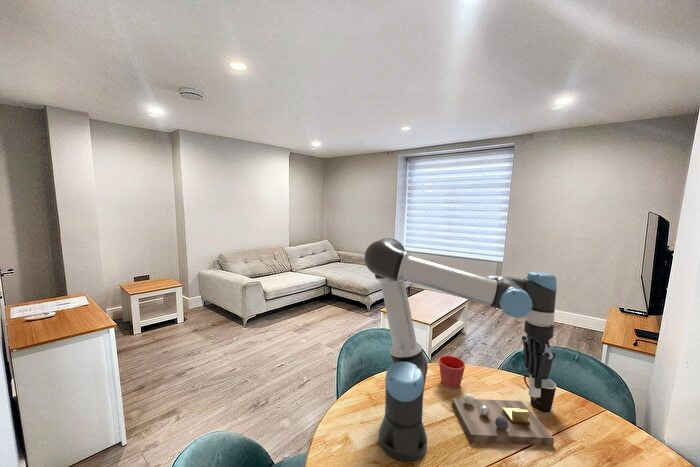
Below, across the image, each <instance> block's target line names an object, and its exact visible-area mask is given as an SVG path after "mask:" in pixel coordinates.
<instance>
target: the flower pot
mask: <svg viewBox="0 0 700 467" xmlns="http://www.w3.org/2000/svg"><path fill="white" fill-rule="evenodd" d="M438 364H439V365H438V366H439V373H440V374H439V375H440V381H441V382H440V383H441V384H442V385H443V386H444V387H447V388H449V389H458V388H460V386H461V384H462V380H463V376H464V372H465V367H466V364H465V362H464V361H463V359H461V358H458V357H457V356H453V355H452V356H451V355H443V356H441V357H439V358H438Z"/></svg>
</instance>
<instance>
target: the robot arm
mask: <svg viewBox="0 0 700 467" xmlns="http://www.w3.org/2000/svg"><path fill="white" fill-rule="evenodd" d="M364 263H365V266H366V267H367V269H368V270H369V271H370V272H371V273H372V274H374V278H375V279H376V280H377V281H379V282H380V286H381V290H382V291H381V292H382V298H383V301H384V307H385V313H386V316H387V322H388V326H389V331H390V332H389V333H390V337H391V341H392V346H391V348H390V350H389V353H390V359H391V363H392V364H390V366H389V367H388V368H387V370H386V374H385V379H384V382H385V395H384V396H385V399H384V400H385V401H384V402H385V404H384V416H383V420H382V422H381V424H380V426H379V430H378V443H379V446H380V448H381V449H382V451H383V452H384V453H385V454H387V456H389V457H391V458H393V459H394V460H397V461H401V462H408V463H409V462H416V461H418V460H420V459H422V457H424V456H425V454H426V452H427V449H428V437H427V432H426V430H425V426H424V422H423V409H424V408H423V406H424V392H425V386H426V379H427V374H428V368H429V367H428V366H429V364H428V360H427V358H426V357H427V356H425V354H424V352H423V346H422V345H421V344H420V343H418V342H417V338H416V337H417V336H416V333H415V327H414V324H413V318H412V317H413V316H412V313H411V306H410V303H409V297H408V293H407V292H408V291H407V287H406V282H410V283H412V284H416V285H420V286H423V287H426V288H429V289H432V290H436V291H439V292H442V293H446V294H448V295H449V294H450V295H453V296H456V297H458V298H462V299H465V300H468V301H472V302H475V303H478V304H481V305H484V306H488V307H491V308H495V309H497V310H500V311H502V312H503V313H504V314H506V315H507V316H509V317H511V318H514V319H519V318H524V319H525V321H524V328H523V329H524V330H523V331H524V333H525V334H526V335H522V336H521V340H522V344H523V356H524V368H525V369H527V371H528V373H529V375H528V376H529V378H528V382H529V383H528V386H529V389H528V395H529V396H531V397H540V395H541V387H542V380H547V379H549V375H550V372H551V368H552V364H553V361H554V360H555V358H556V354H555V353H554V352H552V351H551V350H550V348H551V346H550V340H551V339H553V337H554V332H555V330H554V328H555V327H554V326H555V325H554V324H555V312H556V310H555V308H556V301H557V300H556V299H557V298H556V297H557V292H558V289H557V288H558V287H557V277H556V276H555V275H554V274H552V273H549V272H543V271H529V272H527V276H526V277H513V276H501V275H487V276H483V275H482V276H481V275H479V274H475V273H474V274H473V273H471V272H467V271H464V270H461V269H456V268H453V267H449V266H446V265H443V264H439V263H435V262H432V261H428V260H424V259H421V258H417V257H414V256H411V255H410V254H409V253H408V251H406V248H405V247H404V246H403V244H402V243H401V242H400V241H398V239H395V238H392V237H391V238H390V237H386V238H385V237H384V238H381V239H379V240H375V241H374V242H372V243H371V244H369V245H368V246H367V248H366V250H365V252H364Z"/></svg>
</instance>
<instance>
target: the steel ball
mask: <svg viewBox="0 0 700 467" xmlns="http://www.w3.org/2000/svg"><path fill="white" fill-rule="evenodd" d="M479 412H480V414H481V415H482V416H484V417H487V416H489V414H490V411H489V409H488V407H486V406H484V405H482V406H480V407H479Z"/></svg>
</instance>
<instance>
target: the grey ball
mask: <svg viewBox="0 0 700 467" xmlns="http://www.w3.org/2000/svg"><path fill="white" fill-rule="evenodd" d="M495 424H496V426H497V428H499V429H500V430H506V429H507V428H508V422H507V420H506V419H505V418H503V417H497V418H496V420H495Z"/></svg>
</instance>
